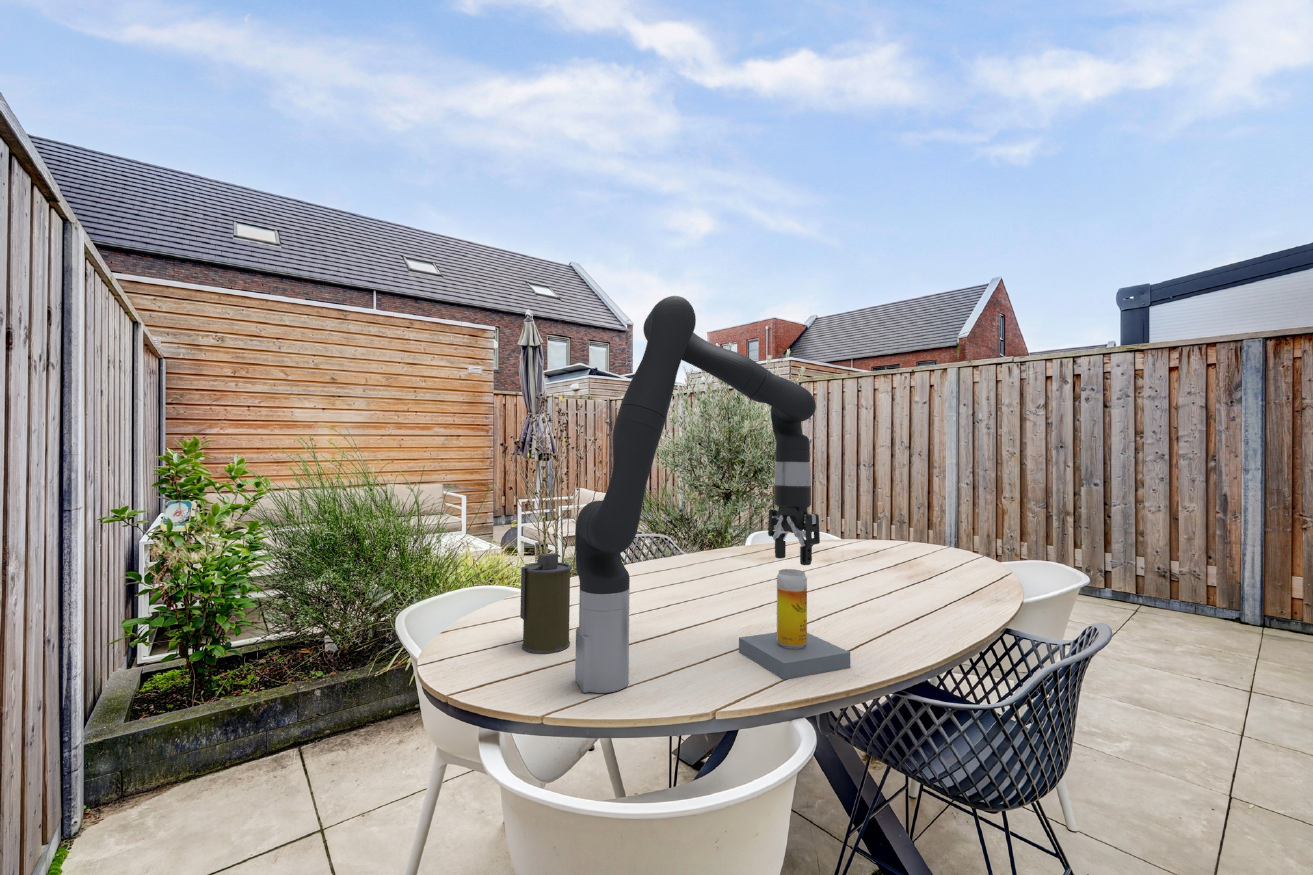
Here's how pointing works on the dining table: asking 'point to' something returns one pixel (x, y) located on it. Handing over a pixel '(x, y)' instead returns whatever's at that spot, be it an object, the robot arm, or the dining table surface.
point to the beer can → (792, 608)
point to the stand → (794, 655)
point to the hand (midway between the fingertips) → (792, 561)
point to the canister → (545, 605)
